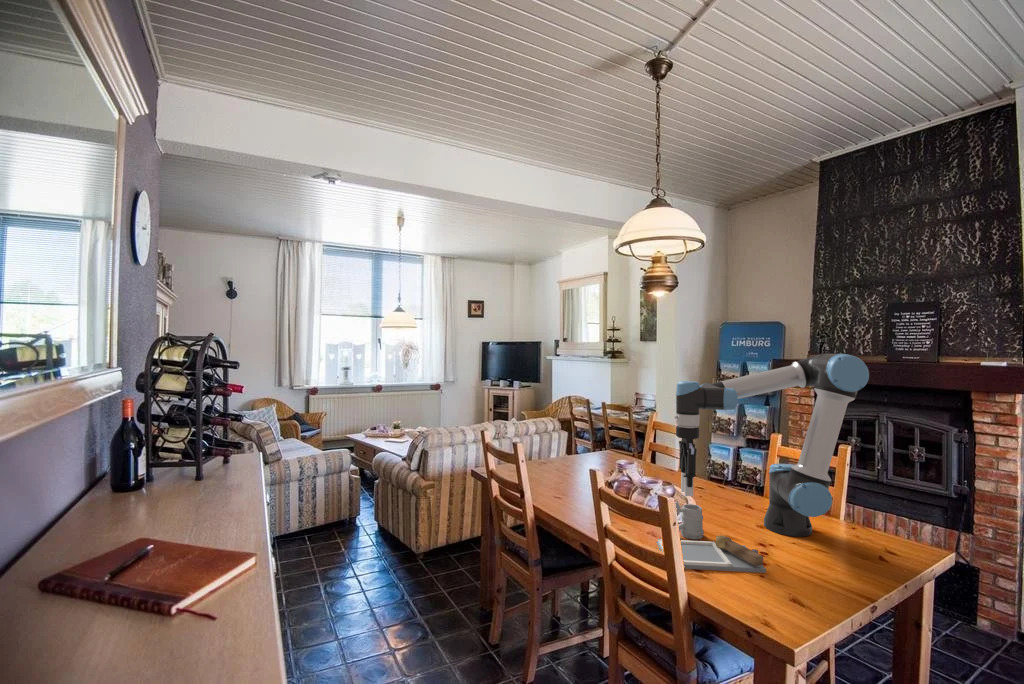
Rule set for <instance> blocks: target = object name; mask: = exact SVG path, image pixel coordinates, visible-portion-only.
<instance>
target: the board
mask: <svg viewBox="0 0 1024 684" xmlns="http://www.w3.org/2000/svg"><path fill="white" fill-rule="evenodd" d="M662 539H663V538H662ZM662 539H661V538H658V539H657V541H655V544H656V543H657V545H658V547H659V550H660V551H661V549H662V552H663V546H662ZM680 540H681V546H682V553H683V561H684V566H685V569H686V570H707V571H725V572H741V573H758V574H759V573H761V574H762V573H764V574H765V573H767V568H766V566H764V564H763V565H760V566H755V565H753V564H752V563H750V562H748V561H746V560H744V559H742V558H740V557H739V556H737V555H735V554H733V553H731V552H729V551H728V550H726V549H722V548H719V547H717V546H716V541H710V540H709V541H708V540H707V541H706V540H703V541H702V540H688V539H680ZM742 546H744V547H746V548H748V547H747V546H746V545H742ZM659 550H658V551H659ZM751 550H752V551H753V552H755V553H757V554H759V550H758V549H751Z"/></svg>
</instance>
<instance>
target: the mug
mask: <svg viewBox="0 0 1024 684" xmlns="http://www.w3.org/2000/svg"><path fill="white" fill-rule="evenodd" d="M675 504H676V508H677V517H678V516H679V515H680V513H681V515H680V516H681V523H679V524H678V525H679V531H680V534H681V536H682V537H684V538H685V539H690V540H693V541H698V540H702V539H703V537H704V534H705V530H704V529H703V527H704V526H703V525H704V524H703V520H704V515H703V507H701V506H700V505H698V504H693V503H687V504H683V505H682V508H681V506H680V504H679V502H678V501H674V505H675Z"/></svg>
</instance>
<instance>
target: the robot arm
mask: <svg viewBox="0 0 1024 684" xmlns="http://www.w3.org/2000/svg"><path fill="white" fill-rule="evenodd" d="M869 379H870V372H869V368H868V366H867V365H866V363H865V362H864V360H863V359H861V358H859V357H857V356H856V355H855V356H854V355H852V354H848V353H847V354H846V353H827V352H826V353H821V354H817V355H814V356H810V357H807V358H804V359H800V360H796V361H795V360H794V361H793V362H792V363H791V364H790V365H787V366H782V367H779V368H774V369H769V370H765V371H761V372H756V373H752V374H747V375H743V376H739V377H735V378H731V379H727V380H721V381H718V382H713V383H712V382H711V383H703V384H700V382H699V381H694V380H693V381H692V380H681V381H677V384H676V392H675V393H676V394H675V396H676V397H675V404H676V407H675V409H676V414H675V416H674V419H675V420H676V421H675V423H676V426H675V435H676V436H675V437H677V438H678V439H679V438H680V439H681V440H679V441H678V445H679V467H678V468H679V469H680V473H681V476H680V481H681V482H680V486H681V487H680V492H681V493H684V496H685V497H694V478H695V477H696V469H697V467H696V465H697V460H696V459H697V457H696V456H697V451H698V450H697V448H696V447H695V446H696V445H695V443H694V440H698V439H699V438H700V427H699V426H700V410H719V411H734V410H736V408H738V407H737V406H738V403H739V402H738V401H739V399H744V398H749V397H754V396H756V395H763V394H767V393H771V392H776V391H780V390H785V389H790V388H794V387H800V389H803V388H807V387H808V388H809V387H813V390H814V391H815V393H816V395H817V396H816V399H815V403H814V407H813V410H812V414H811V417H810V421H809V424H808V427H807V431H806V434H805V437H804V442H803V445H802V448H801V452H800V456H799V459H798V462H797V463H796V464H791V463H772V464H770V466H769V472H768V474H769V476H768V478H769V481H768V482H769V486H768V487H769V491H768V492H769V499H768V501H769V505H768V507H767V510H766V512H765V514H764V517H763V526H764V527H765V528H766V529H767V530H769V531H771V532H774V533H777V534H780V535H785V536H789V537H800V538H801V537H809V536H811V535H812V534H813V525H812V522H811V519H810V518H816V517H820V516H822V515H824V514H827V512H828V511H830V509H831V507H832V505H833V496H832V494H831V492H830V485H831V483H832V479H831V477H830V476H829V473H828V472H829V469H830V465H831V462H832V459H833V455H834V452H835V448H836V445H837V441H838V439H839V435H840V431H841V428H842V426H843V425H842V424H843V422H844V421H843V420H844V417H845V414H846V411H847V407H848V404H849V403H850V402H853V401H854V400H855V399H856V398H857V394H858V391H860V390H862V389H863V388H864V387H865V386H866V385H867V383H868V382H869ZM855 401H856V400H855Z"/></svg>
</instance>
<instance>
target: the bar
mask: <svg viewBox="0 0 1024 684" xmlns="http://www.w3.org/2000/svg"><path fill="white" fill-rule="evenodd" d="M715 543H716V546H717V547H719V548H722V549H726V550H728V551H729V552H731V553H733V554H735V555H737V556H739V557H740V558H742V559H744V560H746V561H748V562H750V563H752V564H753V565H755V566H760V565H763V566H764V556H763V555H761V554H759V553H758V554H757V553H755V552H753V551H752V549H749V548H748V547H747V546H746V547H747V548H746V547H744V546H745V545H743V546H742V545H741V544H740V543H737V542H735V541H734V540H732V538H730V537H729V536H726V535H716V537H715Z"/></svg>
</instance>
